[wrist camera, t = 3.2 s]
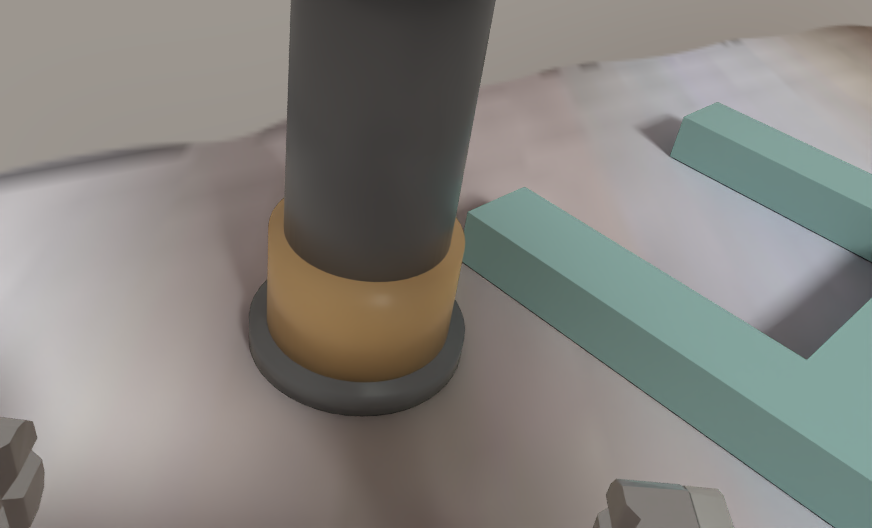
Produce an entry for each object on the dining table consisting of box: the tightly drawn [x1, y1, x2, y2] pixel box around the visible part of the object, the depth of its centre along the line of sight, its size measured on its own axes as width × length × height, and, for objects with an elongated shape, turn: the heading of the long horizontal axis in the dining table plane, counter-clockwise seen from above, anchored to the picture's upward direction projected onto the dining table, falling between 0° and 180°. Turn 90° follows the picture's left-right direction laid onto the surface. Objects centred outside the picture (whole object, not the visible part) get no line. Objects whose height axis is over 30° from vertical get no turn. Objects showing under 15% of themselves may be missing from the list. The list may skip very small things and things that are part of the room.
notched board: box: [462, 102, 872, 528], centre depth 30 cm, size 17×16×2 cm
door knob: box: [249, 0, 496, 416], centre depth 21 cm, size 6×6×13 cm
